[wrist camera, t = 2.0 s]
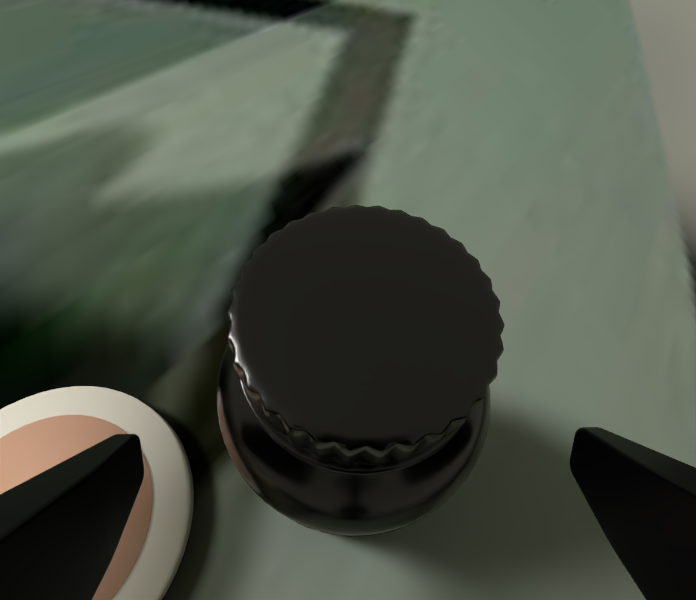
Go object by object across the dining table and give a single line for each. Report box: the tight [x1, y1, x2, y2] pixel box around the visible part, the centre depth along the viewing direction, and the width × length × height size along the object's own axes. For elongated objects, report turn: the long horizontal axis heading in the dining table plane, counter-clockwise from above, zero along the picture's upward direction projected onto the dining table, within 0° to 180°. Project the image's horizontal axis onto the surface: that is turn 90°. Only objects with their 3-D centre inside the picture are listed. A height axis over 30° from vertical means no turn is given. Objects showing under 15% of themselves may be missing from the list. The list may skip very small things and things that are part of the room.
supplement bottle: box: [217, 205, 504, 536], centre depth 12 cm, size 7×7×12 cm
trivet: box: [0, 386, 194, 600], centre depth 15 cm, size 10×10×1 cm
